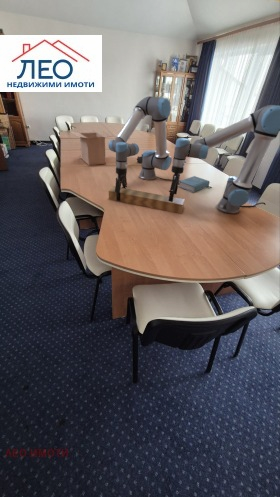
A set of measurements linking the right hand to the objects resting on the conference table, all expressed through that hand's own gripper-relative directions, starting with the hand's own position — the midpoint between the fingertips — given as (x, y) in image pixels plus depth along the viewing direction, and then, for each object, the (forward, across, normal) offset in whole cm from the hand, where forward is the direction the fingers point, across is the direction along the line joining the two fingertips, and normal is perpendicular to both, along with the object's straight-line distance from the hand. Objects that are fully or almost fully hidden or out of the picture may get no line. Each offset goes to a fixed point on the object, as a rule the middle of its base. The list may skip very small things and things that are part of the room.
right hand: (172, 197), depth 151 cm
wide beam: (+9, 0, +19) cm, 20 cm away
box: (+10, +76, +101) cm, 127 cm away
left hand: (+8, 0, +38) cm, 39 cm away
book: (+8, +51, -10) cm, 52 cm away
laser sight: (+9, +98, +48) cm, 110 cm away
